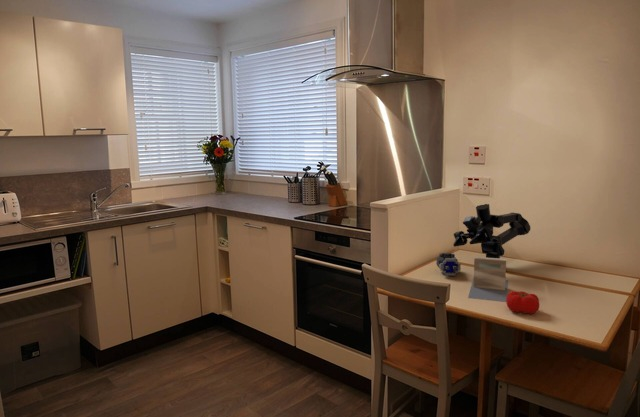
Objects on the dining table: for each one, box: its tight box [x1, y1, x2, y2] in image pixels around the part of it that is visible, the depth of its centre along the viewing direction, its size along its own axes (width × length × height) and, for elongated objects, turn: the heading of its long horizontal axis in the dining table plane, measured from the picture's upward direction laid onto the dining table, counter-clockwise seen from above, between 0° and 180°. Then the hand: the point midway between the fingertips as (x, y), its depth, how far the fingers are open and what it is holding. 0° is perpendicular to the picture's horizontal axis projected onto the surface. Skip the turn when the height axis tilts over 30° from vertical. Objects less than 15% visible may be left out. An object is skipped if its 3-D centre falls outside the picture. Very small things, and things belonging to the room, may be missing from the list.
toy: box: [435, 252, 462, 277], centre depth 211 cm, size 9×9×15 cm
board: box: [473, 256, 507, 290], centre depth 190 cm, size 3×12×12 cm, turn 68°
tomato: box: [505, 290, 540, 315], centre depth 166 cm, size 10×11×6 cm
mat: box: [467, 277, 509, 303], centre depth 190 cm, size 28×14×1 cm, turn 158°
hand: (461, 244), depth 205 cm, fingers open, 9 cm apart
